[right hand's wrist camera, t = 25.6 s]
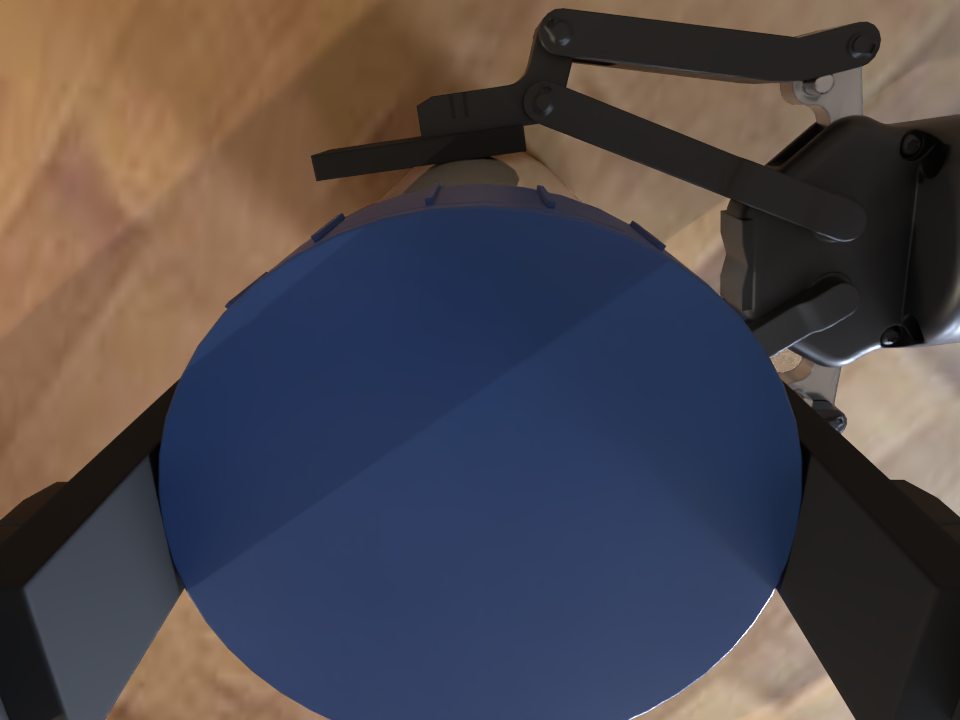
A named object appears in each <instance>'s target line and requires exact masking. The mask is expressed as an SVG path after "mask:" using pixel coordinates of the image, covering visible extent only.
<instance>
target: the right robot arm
mask: <svg viewBox="0 0 960 720" xmlns="http://www.w3.org/2000/svg"><path fill="white" fill-rule="evenodd" d="M780 379H781V378H780ZM179 380H180V379H179ZM179 380H178V381H177V382H176V383H175V384H173V385H172V386H171V387H170V388H169V389H168V390H167V391H166V392H165V393H164V394H163V395H162V396H160V397H159V398H158V399H157V400H156V401H155V402H154V403H153V404H152V405H151V406H150V407H149V408H148V409H146V410H145V411H144V412H143V413H142V414H141V415H140V416H139V417H138V418H137V419H136V420H135V421H133V422H132V423H131V424H130V425H129V426H128V427H127V428H126V429H125V430H124V431H123V432H122V433H120V434H119V435H118V436H117V437H116V438H115V439H114V440H113V441H112V442H111V443H110V444H109V445H108V446H106V447H105V448H104V449H103V450H102V451H101V452H100V453H99V454H98V455H97V456H96V457H95V458H93V459H92V460H91V461H90V462H89V463H88V464H87V465H86V466H85V467H84V468H83V469H82V470H81V471H79V472H78V473H77V474H76V475H75V476H74V477H73V478H72V479H71V480H70V481H69V482H56V483H54V484H52V485H51V486H49V487H47V488H45V489H43V490H41V491H40V492H38V493H36V494H34V495H32V496H30V497H29V498H27V499H25V500H23V501H22V502H21V503H20V504H19V505H17V506H16V507H15V508H14V509H13V510H12V511H11V512H9V513H8V514H7V515H6V516H5V517H4V518H3V519H1V520H0V720H105V718H106V717H107V715H108V713H109V712H110V710H111V708H112V707H113V705H114V703H115V702H116V700H117V699H118V697H119V695H120V694H121V692H122V690H123V689H124V687H125V685H126V684H127V682H128V680H129V679H130V677H131V675H132V674H133V672H134V670H135V669H136V667H137V666H138V664H139V662H140V661H141V659H142V657H143V656H144V654H145V652H146V651H147V649H148V647H149V646H150V644H151V642H152V641H153V639H154V637H155V636H156V634H157V633H158V631H159V629H160V628H161V626H162V624H163V623H164V621H165V619H166V618H167V616H168V614H169V613H170V611H171V609H172V608H173V606H174V605H175V603H176V601H177V600H178V598H179V596H180V595H181V593H182V591H183V590H184V588H185V587H184V584H183V582H182V580H181V578H180V576H179V574H178V571H177V569H176V567H175V565H174V563H173V560H172V557H171V553H170V550H169V547H168V543H167V539H166V535H165V530H164V526H163V521H162V516H161V510H160V503H159V496H158V471H159V451H160V446H161V440H162V435H163V429H164V424H165V418H166V415H167V413H168V410H169V407H170V404H171V401H172V399H173V396H174V393H175V390H176V387H177V384H178V382H179ZM781 381H782V382H783V384H784V387H785V390H786V393H787V396H788V399H789V402H790V405H791V408H792V411H793V414H794V417H795V420H796V424H797V430H798V436H799V442H800V448H801V454H802V493H803V496H802V502H801V509H800V514H799V519H798V524H797V528H796V533H795V537H794V541H793V545H792V549H791V552H790V556H789V559H788V562H787V565H786V567H785V569H784V571H783V573H782V575H781V577H780V580H779V582H778V584H777V586H776V589H777V591H778V592H779V594H780V596H781V597H782V599H783V601H784V602H785V604H786V606H787V607H788V609H789V610H790V612H791V614H792V615H793V617H794V619H795V620H796V622H797V624H798V625H799V627H800V629H801V630H802V632H803V634H804V635H805V637H806V638H807V640H808V642H809V643H810V645H811V647H812V648H813V650H814V652H815V653H816V655H817V657H818V658H819V660H820V662H821V663H822V665H823V667H824V668H825V670H826V671H827V673H828V675H829V676H830V678H831V680H832V681H833V683H834V685H835V686H836V688H837V690H838V691H839V693H840V695H841V696H842V698H843V700H844V701H845V703H846V704H847V706H848V708H849V709H850V711H851V713H852V714H853V716H854V718H855V719H856V720H960V517H959V516H958V515H957V514H956V513H954V512H953V511H952V510H951V509H950V508H949V507H947V506H946V505H945V504H944V503H943V502H942V501H941V500H939V499H938V498H937V497H935V496H933V495H931V494H929V493H927V492H926V491H924V490H922V489H920V488H918V487H916V486H915V485H913V484H911V483H909V482H907V481H905V480H890V479H889V478H887V477H886V476H885V475H884V474H883V473H882V472H881V471H880V470H879V469H878V468H877V467H876V466H875V465H873V464H872V463H871V462H870V461H869V460H868V459H867V458H866V457H865V456H864V455H863V454H862V453H860V452H859V451H858V450H857V449H856V448H855V447H854V446H853V445H852V444H851V443H850V442H849V441H848V440H846V439H845V438H844V437H843V436H842V435H841V434H840V433H839V432H838V431H837V430H836V429H835V428H833V427H832V426H831V425H830V424H829V423H828V422H827V421H826V420H825V419H824V418H823V417H822V416H820V415H819V414H818V413H817V412H816V411H815V410H814V409H813V408H812V407H811V406H810V405H809V404H808V403H806V402H805V401H804V400H803V399H802V398H801V397H800V396H799V395H798V394H797V393H796V392H795V391H793V390H792V389H791V388H790V387H789V386H788V385H787V384H786V383H785V382H784V381H783V380H782V379H781Z"/></svg>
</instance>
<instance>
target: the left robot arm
mask: <svg viewBox="0 0 960 720" xmlns="http://www.w3.org/2000/svg"><path fill="white" fill-rule="evenodd" d="M880 42H881V38H880V33H879V30H878V29H877V28H876V26H875V25H873V24H871V23H869V22H858V23H853V24H848V25H843V26H839V27H834V28H829V29H824V30H819V31H815V32H811V33H808V34H804V35H800V36H796V37H789V36H781V35H773V34H765V33H757V32H749V31H741V30H733V29H725V28H717V27H709V26H701V25H693V24H685V23H677V22H669V21H661V20H653V19H645V18H637V17H629V16H621V15H613V14H605V13H597V12H589V11H581V10H573V9H565V8H562V9H555V10H553V11H551V12H549V13H548V14H547V15H546V16H545V17H544V18H543V20H542V21H541V22H540V24H539V25H538V27H537V28H536V29H535V32H534V36H533V43H532V47H531V52H530V56H529V61H528V65H527V68H526V71H525V73H524V75H523V76H522V77H521V78H520V79H519V80H518V81H517V82H516V83H514V84H511V85H508V86H501V87H494V88H487V89H481V90H474V91H467V92H460V93H454V94H447V95H440V96H433V97H431V98H429V99H427V100H426V101H424V102H423V103H421V104H419V105H418V106H417V111H418V117H419V123H420V129H421V135H422V136H421V137H414V138H407V139H400V140H393V141H386V142H379V143H373V144H366V145H359V146H352V147H345V148H338V149H331V150H327V151H324V152H321V153H318V154H315V155H312V156H311V159H312V163H313V167H314V172H315V176H316V181H321V180H328V179H335V178H342V177H349V176H356V175H363V174H370V173H377V172H384V171H391V170H398V169H405V168H412V167H419V166H426V165H433V164H440V163H447V162H454V161H461V160H468V159H475V158H482V157H490V156H497V155H504V154H511V153H518V152H525V151H526V145H525V136H524V126H526V125H533V124H541V125H544V126H546V127H549V128H551V129H554V130H557V131H559V132H562V133H564V134H567V135H569V136H572V137H574V138H577V139H579V140H582V141H585V142H587V143H590V144H592V145H595V146H597V147H600V148H602V149H605V150H608V151H610V152H613V153H615V154H618V155H620V156H623V157H625V158H628V159H631V160H633V161H636V162H638V163H641V164H643V165H646V166H648V167H651V168H653V169H656V170H659V171H661V172H664V173H666V174H669V175H671V176H674V177H676V178H679V179H682V180H684V181H687V182H689V183H692V184H694V185H697V186H699V187H702V188H704V189H707V190H710V191H712V192H715V193H717V194H720V195H722V196H725V197H727V198H730V199H731V200H730V202H729V204H728V207H727V210H723V211H721V235H722V239H723V243H724V246H725V250H726V257H725V261H724V264H723V268H722V272H721V275H720V295H721V296H722V297H723V299H724V300H725V301H726V302H728V303H729V304H730V305H731V306H733V307H734V308H735V309H736V310H737V311H739V312H740V313H741V314H742V315H743V316H744V317H745V318H746V320H745V321H744V322H745V323H746V325H747V326H748V327H749V329H750V330H751V331H752V333H753V334H754V335H755V337H756V338H757V339H758V341H759V342H760V343H761V345H762V346H763V347H764V349H765V350H766V352H767V354H768V356H769V358H771V357H773V356H774V355H776V354H778V353H779V352H781V351H783V350H785V349H786V348H787V349H789V350H791V351H793V352H795V353H796V354H798V355H800V356H802V360H801V362H800V363H799V365H798V366H797V367H796V368H794V369H792V370H791V371H787V372H784V373H781V372H777V373H778V375H779V377H780V378H781V379H782V380H783V381H784V382H785V383H786V384H787V385H788V386H789V387H790V388H791V389H792V390H793V391H795V392H796V393H797V394H798V395H799V396H800V397H801V398H802V399H803V400H804V401H805V402H806V403H808V404H809V405H810V406H811V407H812V408H813V409H814V410H815V411H816V412H817V413H818V414H819V415H820V416H822V417H823V418H824V419H825V420H826V421H827V422H828V423H829V424H830V425H831V426H832V427H833V428H835V429H836V430H837V431H838V432H839V433H840V434H841V433H842V432H843V431H844V429H845V427H846V425H847V418H846V417H845V415H844V413H842V412H841V411H840V410H839V409H838V408H837V407H835V406H834V402H835V396H836V391H837V386H838V381H839V376H840V371H841V366H844V365H847V364H849V363H851V362H853V361H855V360H856V359H858V358H859V357H861V356H863V355H865V354H867V353H869V352H872V351H874V350H877V349H882V348H910V347H925V346H933V345H941V344H949V343H957V342H960V114H957V115H950V116H943V117H936V118H929V119H922V120H915V121H908V122H901V123H894V124H883V123H880V122H878V121H876V120H874V119H872V118H869V117H866V116H863V110H862V66H864V65H866V64H868V63H869V62H870V61H871V60H872V59H873V58H874V57H875V56H876V54H877V52H878V50H879V48H880ZM572 63H578V64H587V65H595V66H603V67H611V68H620V69H628V70H636V71H644V72H653V73H661V74H669V75H677V76H686V77H694V78H702V79H710V80H719V81H727V82H735V83H747V84H762V83H779V82H780V90H781V95H782V97H783V99H784V100H785V101H786V102H788V103H790V104H792V105H805V106H807V107H809V108H810V109H812V110H813V112H814V114H815V116H816V122H815V123H814V124H813V125H811V126H810V127H809V128H808V129H807V130H805V131H804V132H803V133H802V134H801V135H800V136H798V137H797V138H796V139H795V140H794V141H793V142H791V143H790V144H789V145H788V146H787V147H786V148H784V149H783V150H782V151H781V152H780V153H779V154H777V155H776V156H775V157H774V158H773V159H772V160H770V161H769V162H768V163H767V164H766V165H765V166H763V165H760V164H758V163H755V162H753V161H750V160H747V159H744V158H741V157H738V156H735V155H733V154H730V153H728V152H725V151H723V150H720V149H718V148H715V147H713V146H710V145H708V144H705V143H703V142H700V141H698V140H695V139H693V138H690V137H688V136H685V135H683V134H680V133H678V132H675V131H673V130H671V129H668V128H666V127H663V126H661V125H658V124H656V123H653V122H651V121H648V120H646V119H643V118H641V117H638V116H636V115H633V114H631V113H628V112H626V111H623V110H621V109H618V108H616V107H613V106H611V105H608V104H606V103H603V102H601V101H598V100H596V99H593V98H591V97H588V96H586V95H583V94H581V93H578V92H576V91H573V90H571V89H569V88H566V85H567V81H568V77H569V73H570V69H571V65H572Z"/></svg>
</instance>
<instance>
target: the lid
mask: <svg viewBox="0 0 960 720" xmlns="http://www.w3.org/2000/svg"><path fill="white" fill-rule="evenodd" d="M665 247H666V245H664V244H663V243H662V242H660V241H659V240H658V239H657V238H655V237H654V236H653V235H651V234H650V233H649V232H648V231H646V230H645V229H644V228H642V227H641V226H640V225H639V224H637V223H636V222H634V221H632V222H631V224H630V225H629V224H627V223H625V222H623V221H622V220H620V219H618V218H616V217H614V216H612V215H610V214H608V213H606V212H604V211H603V210H601V209H599V208H596V207H593V206H590V205H588V204H585V203H582V202H579V201H577V200H574V199H571V198H568V197H565V196H563V195H559V194H554V193H549V192H548V191H547V190H546V189H545V187H544V186H541V185H537V189H536V190H535V189H530V188H526V187H518V186H505V185H491V184H472V185H455V186H440V182H437V183H433V185H432V187H431V189H426V190H421V191H416V192H411V193H406V194H402V195H399V196H396V197H393V198H390V199H387V200H384V201H381V202H378V203H376V204H373V205H370V206H367V207H364V208H362V209H361V210H359V211H357V212H355V213H353V214H351V215H349V216H347V217H344V215H343V213H341V214H339V215H337V216H336V217H335V218H333V219H332V220H331V221H330V222H328V223H327V224H326V225H325V226H323V227H322V228H321V229H320V230H318V231H317V232H316V233H315V234H313V235H312V236H311V239H310V240H308V241H307V242H306V243H304V244H303V245H301V246H300V247H299V248H297V249H296V250H295V251H294V252H292V253H291V254H290V255H289V256H288V257H286V258H285V259H284V260H283V261H281V262H280V263H279V264H278V265H276V266H275V267H274V268H273V269H271V270H270V271H269V272H265V273H264V274H263V275H262V276H260V277H259V278H258V279H257V280H255V281H254V282H253V283H252V284H250V285H249V286H248V287H247V288H245V289H244V290H243V291H242V292H240V293H239V294H238V295H237V296H235V297H234V298H233V299H232V300H230V301H229V302H228V303H227V304H226V306H225V307H226V308H227V310H226V311H225V312H224V313H223V314H222V316H221V317H220V318H219V319H218V321H217V322H216V323H215V325H214V326H213V327H212V328H211V330H210V331H209V332H208V334H207V335H206V336H205V338H204V339H203V340H202V341H201V343H200V344H199V345H198V347H197V349H196V350H195V352H194V354H193V356H192V358H191V360H190V361H189V363H188V365H187V367H186V369H185V371H184V372H183V374H182V376H181V378H180V380H179V382H178V384H177V387H176V390H175V393H174V396H173V399H172V401H171V404H170V407H169V410H168V413H167V415H166V418H165V424H164V429H163V435H162V440H161V446H160V451H159V471H158V496H159V503H160V510H161V516H162V521H163V526H164V530H165V535H166V539H167V543H168V547H169V550H170V553H171V557H172V560H173V563H174V565H175V567H176V569H177V571H178V574H179V576H180V578H181V580H182V582H183V584H184V587H185V589H186V591H187V593H188V595H189V596H190V598H191V599H192V601H193V602H194V604H195V606H196V607H197V609H198V610H199V612H200V613H201V615H202V617H203V618H204V620H205V621H206V623H207V624H208V625H209V626H210V627H211V629H212V630H213V631H214V632H215V633H216V635H217V636H218V637H219V638H220V639H221V641H222V642H223V643H224V644H225V645H226V647H227V648H228V649H229V650H230V651H231V652H232V653H233V654H234V655H236V656H237V657H238V658H239V659H240V660H241V661H242V662H243V663H244V664H245V665H246V666H247V667H248V668H249V669H250V670H252V671H253V672H254V673H255V674H256V675H258V676H259V677H260V678H262V679H263V680H265V681H266V682H267V683H269V684H270V685H271V686H273V687H274V688H275V689H277V690H278V691H279V692H281V693H282V694H284V695H286V696H287V697H289V698H291V699H292V700H294V701H296V702H298V703H299V704H301V705H303V706H304V707H306V708H308V709H309V710H311V711H313V712H316V713H318V714H320V715H322V716H324V717H326V718H329V719H331V720H630V719H632V718H634V717H637V716H639V715H641V714H643V713H645V712H648V711H649V710H651V709H653V708H655V707H656V706H658V705H660V704H661V703H663V702H665V701H667V700H668V699H670V698H672V697H674V696H675V695H677V694H679V693H680V692H681V691H683V690H684V689H685V688H687V687H688V686H689V685H691V684H692V683H694V682H695V681H696V680H698V679H699V678H700V677H702V676H703V675H705V674H706V673H707V672H708V671H709V670H710V669H711V668H712V667H713V666H714V665H716V664H717V663H718V662H719V661H720V660H721V659H722V658H723V657H724V656H725V655H726V654H728V653H729V652H730V651H731V650H732V648H733V647H734V646H735V645H736V644H737V643H738V641H739V640H740V639H741V638H742V637H743V636H744V634H745V633H746V632H747V631H748V630H749V629H750V627H751V626H752V625H753V624H754V622H755V621H756V619H757V618H758V616H759V615H760V613H761V611H762V610H763V608H764V607H765V605H766V604H767V602H768V601H769V599H770V598H771V596H772V594H773V592H774V590H775V588H776V586H777V584H778V582H779V580H780V577H781V575H782V573H783V571H784V569H785V567H786V565H787V562H788V559H789V556H790V552H791V549H792V545H793V541H794V537H795V533H796V528H797V524H798V519H799V514H800V509H801V502H802V496H803V493H802V454H801V448H800V442H799V436H798V430H797V424H796V420H795V417H794V414H793V411H792V408H791V405H790V402H789V399H788V396H787V393H786V390H785V387H784V384H783V382H782V381H781V379H780V377H779V375H778V373H777V371H776V369H775V367H774V365H773V364H772V362H771V360H770V358H769V356H768V354H767V352H766V350H765V349H764V347H763V346H762V345H761V343H760V342H759V341H758V339H757V338H756V337H755V335H754V334H753V333H752V331H751V330H750V329H749V327H748V326H747V325H746V323H745V322H744V321H745V320H746V318H745V317H744V316H743V315H742V314H741V313H740V312H739V311H737V310H736V309H735V308H734V307H733V306H731V305H730V304H729V303H728V302H726V301H725V300H724V299H723V298H721V297H720V296H719V295H718V294H717V293H716V292H715V291H714V290H713V289H712V288H711V287H710V286H709V285H708V284H707V283H705V282H704V281H703V280H702V279H700V278H699V277H698V276H697V275H695V274H694V273H693V272H692V271H691V270H689V269H688V268H687V267H686V266H684V265H683V264H682V263H681V262H679V261H678V260H677V259H676V258H674V257H673V256H672V255H671V254H669V253H668V252H667V251H666V250H664V249H665Z"/></svg>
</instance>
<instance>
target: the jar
mask: <svg viewBox="0 0 960 720" xmlns="http://www.w3.org/2000/svg"><path fill="white" fill-rule="evenodd" d="M437 182H440V186H455V185H472V184H491V185H505V186H518V187H526V188H530V189H535V190H536V189H537V185H541V186H544V187H545V189H546V190H547V191H548V192H549V193H554V194H559V195H563V196H565V197H568V198H571V199H574V200H577V201H579V202H582V201H581V200H580V199H579V198H578V197H577V196H576V195H575V194H574V193H573V192H572V191H571V190H570V189H569V188H568V187H567V186H566V185H565V184H564V183H563V182H562V181H561V180H560V179H559V178H558V177H556V176H555V175H554V174H553V173H552V172H551V171H550V170H549V169H548V168H547V167H546V166H545V165H543V164H542V163H541V162H539V161H538V160H536V159H535V158H533V157H531V156H529V155H527V154H526V153H524V152H518V153H511V154H504V155H497V156H490V157H482V158H475V159H468V160H461V161H454V162H447V163H440V164H433V165H426V166H419V167H413V168H412V169H411V170H410V171H409V172H408V173H407V174H406V175H405V176H404V177H403V178H402V179H401V180H400V181H398V182H397V183H396V184H395V185H394V186H393V187H392V188H391V189H390V190H389V191H388V192H387V193H386V194H385V195H384V196H383V197H382V198H381V199H380V200H379V201H378V202H381V201H384V200H387V199H390V198H393V197H396V196H399V195H402V194H406V193H411V192H416V191H421V190H426V189H431V187H432V185H433V183H437ZM378 202H377V203H378ZM582 203H583V202H582Z"/></svg>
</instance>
